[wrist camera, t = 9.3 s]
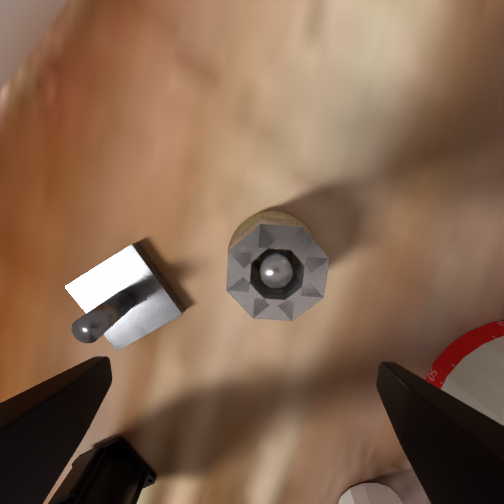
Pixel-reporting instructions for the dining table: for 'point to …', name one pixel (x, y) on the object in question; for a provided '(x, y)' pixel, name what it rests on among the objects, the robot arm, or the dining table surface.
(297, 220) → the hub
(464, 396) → the chicken hat
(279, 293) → the collar
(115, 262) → the stand
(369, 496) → the white cup
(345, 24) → the dining table surface
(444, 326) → the dining table surface
